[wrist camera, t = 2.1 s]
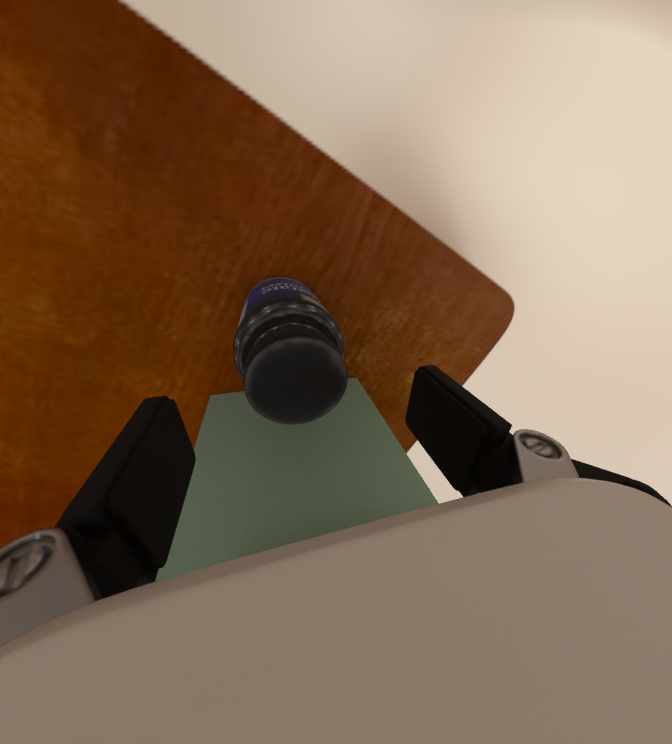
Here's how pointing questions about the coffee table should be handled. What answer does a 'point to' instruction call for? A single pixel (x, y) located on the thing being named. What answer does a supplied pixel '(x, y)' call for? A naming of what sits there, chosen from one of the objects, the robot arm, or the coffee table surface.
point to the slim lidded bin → (288, 480)
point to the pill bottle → (289, 353)
